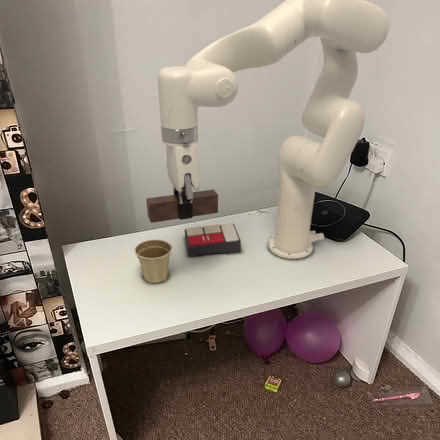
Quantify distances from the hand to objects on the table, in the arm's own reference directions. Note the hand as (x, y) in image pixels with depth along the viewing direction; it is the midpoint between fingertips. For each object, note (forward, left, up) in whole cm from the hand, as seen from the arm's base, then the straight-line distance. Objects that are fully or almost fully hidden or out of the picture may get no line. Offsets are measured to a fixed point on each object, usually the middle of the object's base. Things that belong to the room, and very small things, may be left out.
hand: (183, 214), depth 101 cm
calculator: (-12, -16, -20) cm, 28 cm away
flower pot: (+7, -5, -20) cm, 21 cm away
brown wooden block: (0, 0, 0) cm, 0 cm away
